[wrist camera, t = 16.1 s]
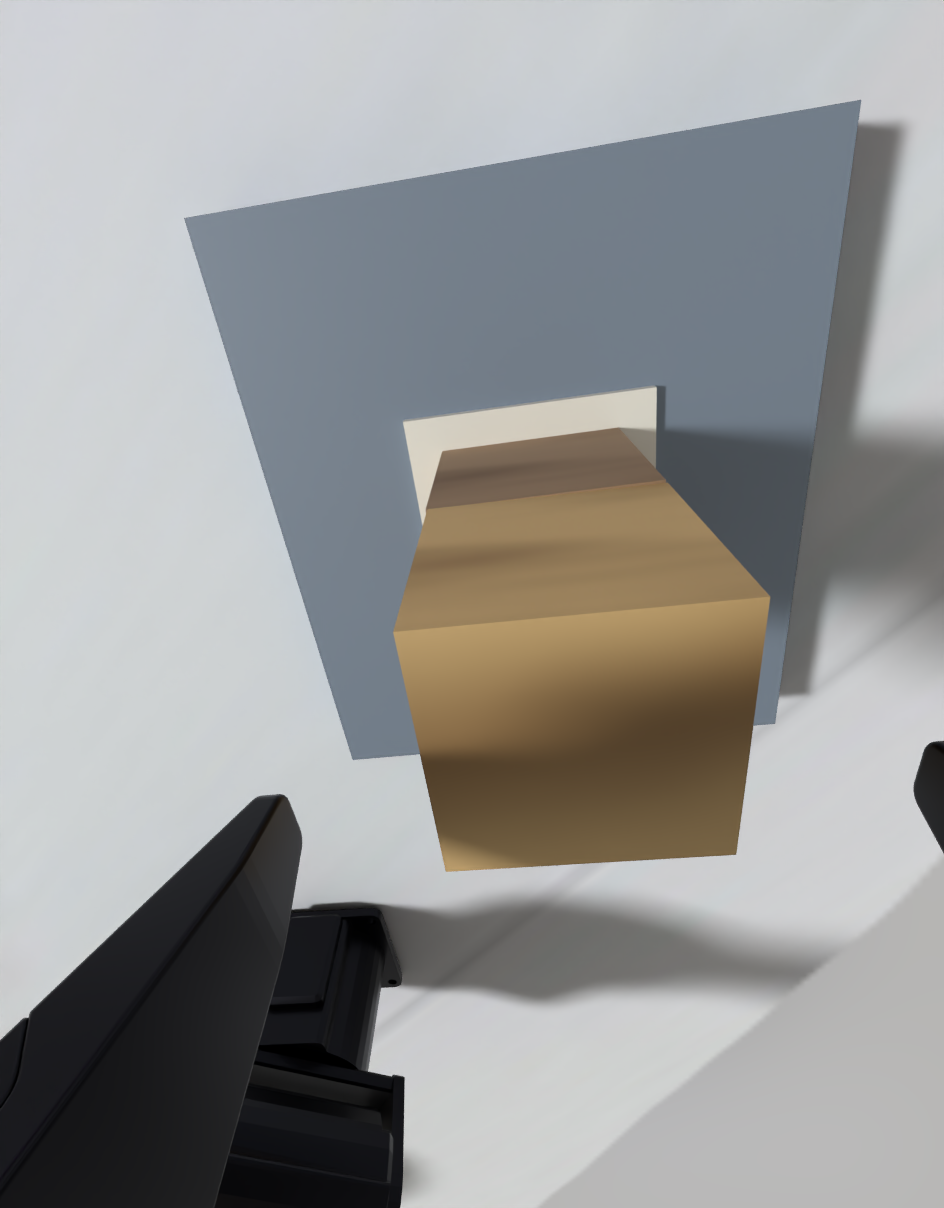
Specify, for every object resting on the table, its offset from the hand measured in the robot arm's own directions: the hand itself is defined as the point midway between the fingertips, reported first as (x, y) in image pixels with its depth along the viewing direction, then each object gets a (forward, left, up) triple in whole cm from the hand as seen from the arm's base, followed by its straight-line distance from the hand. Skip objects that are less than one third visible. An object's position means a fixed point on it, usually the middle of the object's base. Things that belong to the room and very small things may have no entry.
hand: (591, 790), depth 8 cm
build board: (0, 0, -13) cm, 13 cm away
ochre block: (0, 0, -6) cm, 6 cm away
